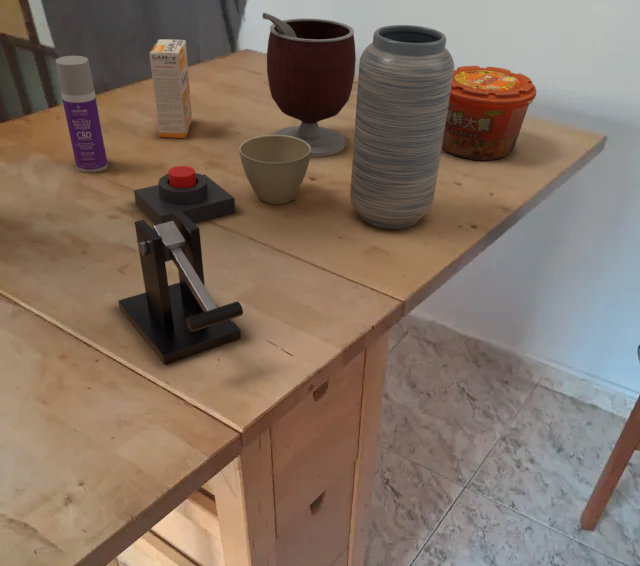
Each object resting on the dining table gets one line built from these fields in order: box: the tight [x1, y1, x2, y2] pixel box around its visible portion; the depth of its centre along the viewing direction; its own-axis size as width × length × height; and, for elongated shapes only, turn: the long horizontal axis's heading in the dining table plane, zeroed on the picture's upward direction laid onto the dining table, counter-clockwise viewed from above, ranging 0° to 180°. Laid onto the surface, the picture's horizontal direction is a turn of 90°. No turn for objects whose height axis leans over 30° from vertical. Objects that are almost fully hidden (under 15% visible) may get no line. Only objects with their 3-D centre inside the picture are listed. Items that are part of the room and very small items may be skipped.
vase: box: [349, 24, 455, 230], centre depth 90 cm, size 12×12×23 cm
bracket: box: [117, 211, 242, 365], centre depth 72 cm, size 12×9×12 cm
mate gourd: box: [262, 12, 357, 158], centre depth 109 cm, size 16×14×20 cm
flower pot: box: [238, 134, 311, 205], centre depth 98 cm, size 10×10×7 cm
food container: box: [442, 65, 537, 161], centre depth 114 cm, size 16×16×11 cm
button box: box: [133, 172, 236, 225], centre depth 95 cm, size 11×9×4 cm
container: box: [55, 55, 109, 174], centre depth 101 cm, size 5×5×15 cm
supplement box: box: [149, 38, 193, 139], centre depth 114 cm, size 8×5×13 cm, turn 0°
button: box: [167, 165, 196, 188], centre depth 93 cm, size 4×4×2 cm
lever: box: [152, 221, 244, 332], centre depth 68 cm, size 12×6×2 cm, turn 34°
